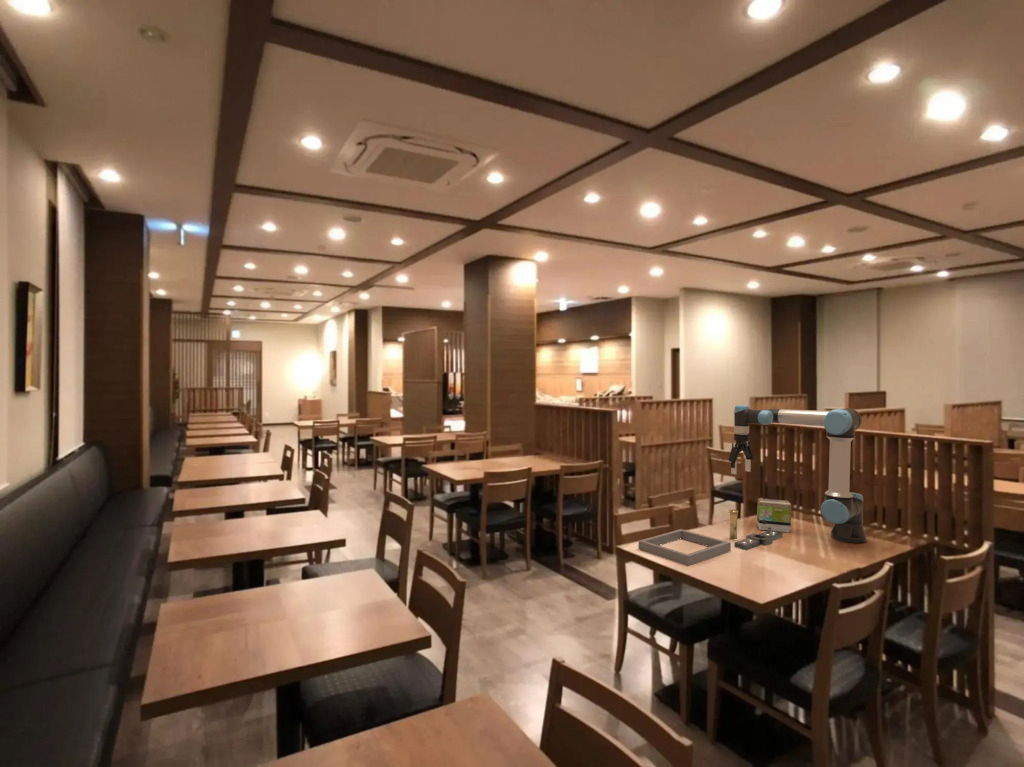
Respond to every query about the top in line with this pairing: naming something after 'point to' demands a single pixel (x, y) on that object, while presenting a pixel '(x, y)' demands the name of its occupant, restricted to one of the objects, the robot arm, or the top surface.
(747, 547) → the chain ends
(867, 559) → the top surface
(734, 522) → the pin
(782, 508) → the tea box
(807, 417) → the robot arm
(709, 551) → the frame
